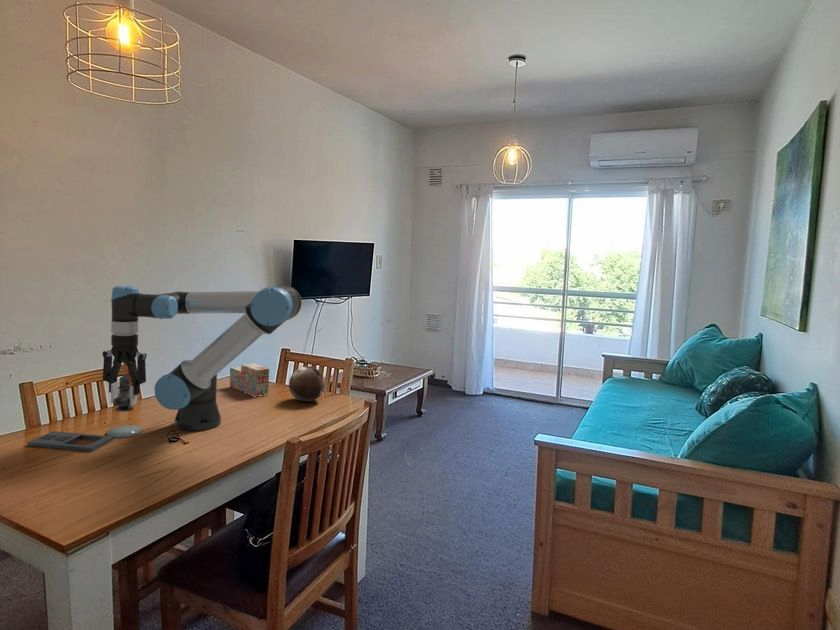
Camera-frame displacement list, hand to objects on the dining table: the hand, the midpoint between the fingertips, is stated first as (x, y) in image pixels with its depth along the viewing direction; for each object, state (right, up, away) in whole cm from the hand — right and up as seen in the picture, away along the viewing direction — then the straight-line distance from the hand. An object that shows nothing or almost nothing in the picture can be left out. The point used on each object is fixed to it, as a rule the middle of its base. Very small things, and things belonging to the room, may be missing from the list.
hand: (124, 403), depth 169 cm
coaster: (-1, -10, +1) cm, 10 cm away
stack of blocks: (+21, -5, +60) cm, 64 cm away
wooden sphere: (+49, -8, +51) cm, 71 cm away
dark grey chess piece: (0, -2, 0) cm, 2 cm away
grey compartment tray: (-10, -11, -10) cm, 18 cm away
